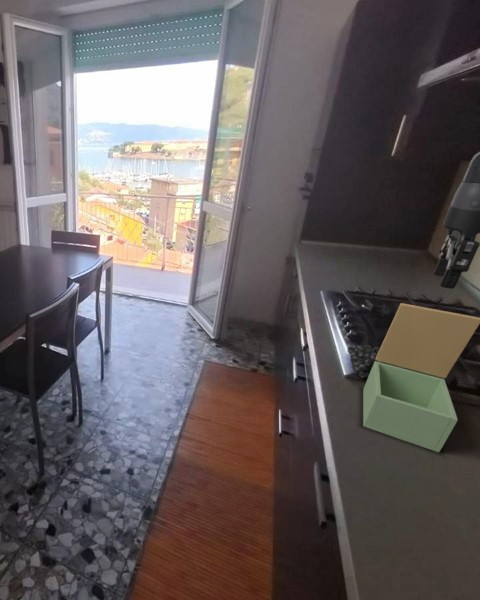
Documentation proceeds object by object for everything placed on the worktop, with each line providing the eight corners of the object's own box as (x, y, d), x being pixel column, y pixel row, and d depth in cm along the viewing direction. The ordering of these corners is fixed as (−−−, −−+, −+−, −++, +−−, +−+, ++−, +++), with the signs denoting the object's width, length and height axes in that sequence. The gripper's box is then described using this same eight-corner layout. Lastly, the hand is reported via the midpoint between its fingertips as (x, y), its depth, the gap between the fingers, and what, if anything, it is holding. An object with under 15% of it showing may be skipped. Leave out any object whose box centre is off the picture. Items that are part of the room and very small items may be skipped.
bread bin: (439, 452, 73) (458, 420, 69) (363, 426, 79) (376, 395, 76) (428, 409, 84) (444, 379, 80) (363, 389, 91) (374, 360, 87)
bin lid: (482, 319, 71) (481, 317, 72) (400, 304, 78) (400, 302, 78) (445, 378, 80) (445, 376, 80) (375, 360, 87) (375, 358, 87)
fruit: (353, 326, 102) (374, 353, 89) (382, 338, 101) (408, 367, 88) (334, 349, 106) (351, 378, 93) (362, 361, 105) (384, 392, 92)
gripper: (515, 214, 64) (474, 296, 71) (493, 202, 74) (459, 275, 81) (457, 210, 68) (424, 288, 75) (444, 199, 78) (416, 268, 85)
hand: (442, 281), depth 78 cm, fingers open, 8 cm apart
